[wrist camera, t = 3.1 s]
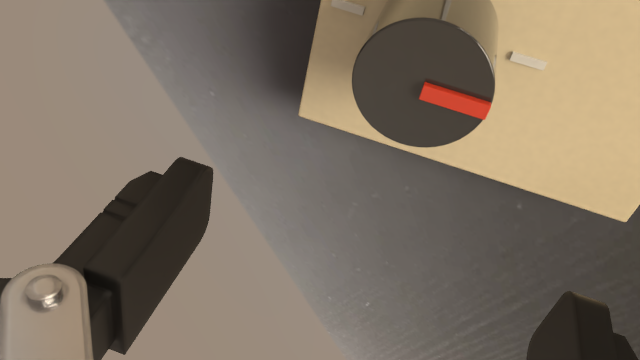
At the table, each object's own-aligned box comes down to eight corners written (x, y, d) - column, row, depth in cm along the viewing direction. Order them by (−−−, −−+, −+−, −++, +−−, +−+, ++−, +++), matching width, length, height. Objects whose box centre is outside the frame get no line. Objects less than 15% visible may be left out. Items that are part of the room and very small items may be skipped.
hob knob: (366, 67, 24) (336, 128, 20) (396, -43, 21) (368, 2, 17) (472, 100, 24) (463, 169, 20) (518, -8, 21) (520, 48, 17)
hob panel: (312, 92, 29) (296, 118, 27) (368, -175, 21) (353, -169, 19) (618, 191, 27) (626, 225, 25) (797, -60, 20) (830, -39, 17)
